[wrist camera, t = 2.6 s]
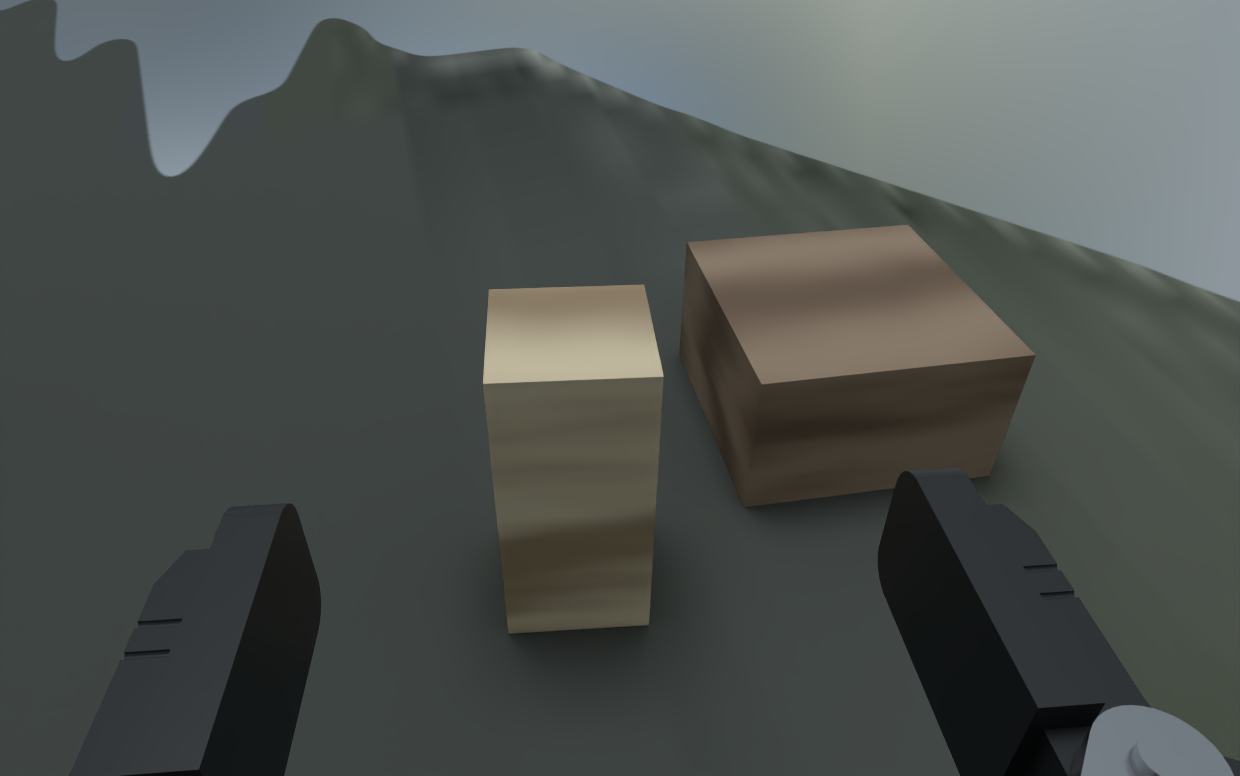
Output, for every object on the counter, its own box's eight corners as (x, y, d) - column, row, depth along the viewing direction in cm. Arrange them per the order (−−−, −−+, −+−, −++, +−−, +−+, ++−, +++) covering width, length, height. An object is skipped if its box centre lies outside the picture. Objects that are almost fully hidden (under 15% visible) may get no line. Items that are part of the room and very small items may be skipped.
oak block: (648, 625, 28) (663, 376, 22) (508, 633, 27) (482, 383, 21) (634, 522, 31) (643, 284, 25) (510, 529, 31) (489, 289, 25)
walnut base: (988, 479, 34) (1035, 355, 30) (743, 511, 32) (761, 384, 28) (880, 337, 41) (907, 224, 38) (679, 358, 40) (686, 242, 36)
